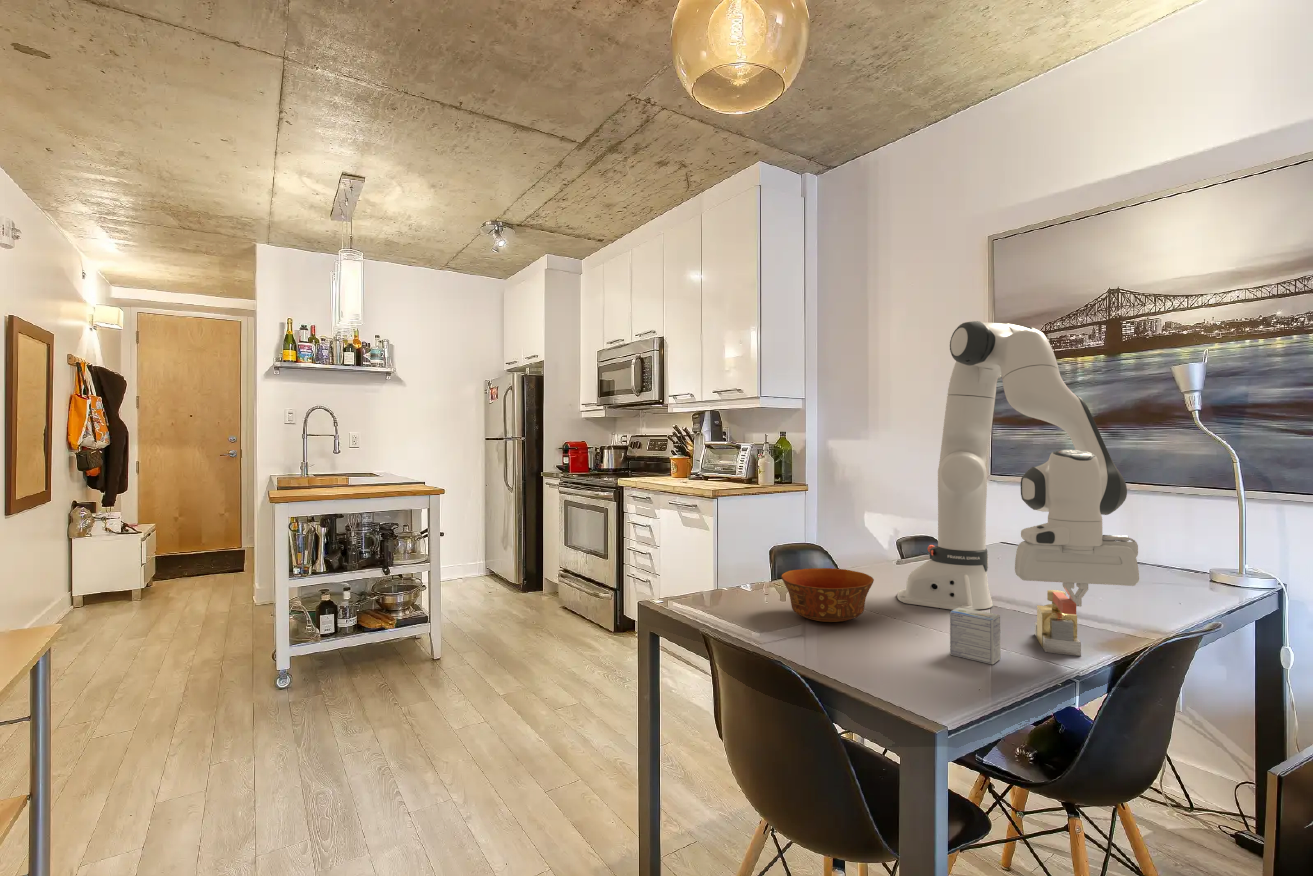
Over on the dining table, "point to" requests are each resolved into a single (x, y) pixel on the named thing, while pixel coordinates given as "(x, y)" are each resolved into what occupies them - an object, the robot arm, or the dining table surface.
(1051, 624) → the valve
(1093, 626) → the dining table surface
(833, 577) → the bowl
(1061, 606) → the lever
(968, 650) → the medicine box
